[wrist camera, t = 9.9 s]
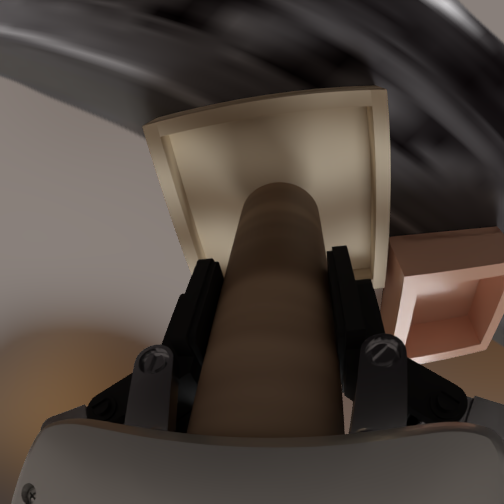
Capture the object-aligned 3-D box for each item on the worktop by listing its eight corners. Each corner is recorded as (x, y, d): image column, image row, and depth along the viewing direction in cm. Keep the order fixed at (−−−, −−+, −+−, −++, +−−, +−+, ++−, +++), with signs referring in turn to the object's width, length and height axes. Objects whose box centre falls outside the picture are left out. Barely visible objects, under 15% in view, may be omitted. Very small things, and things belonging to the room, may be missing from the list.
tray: (156, 118, 16) (142, 126, 14) (375, 85, 14) (386, 89, 12) (208, 283, 23) (202, 302, 21) (378, 268, 20) (384, 287, 19)
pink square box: (387, 236, 19) (404, 276, 16) (496, 226, 17) (524, 259, 14) (377, 329, 24) (386, 369, 21) (470, 314, 22) (486, 349, 19)
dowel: (234, 187, 15) (134, 510, 4) (315, 177, 15) (354, 529, 3) (249, 253, 18) (200, 530, 6) (321, 246, 17) (340, 536, 6)
